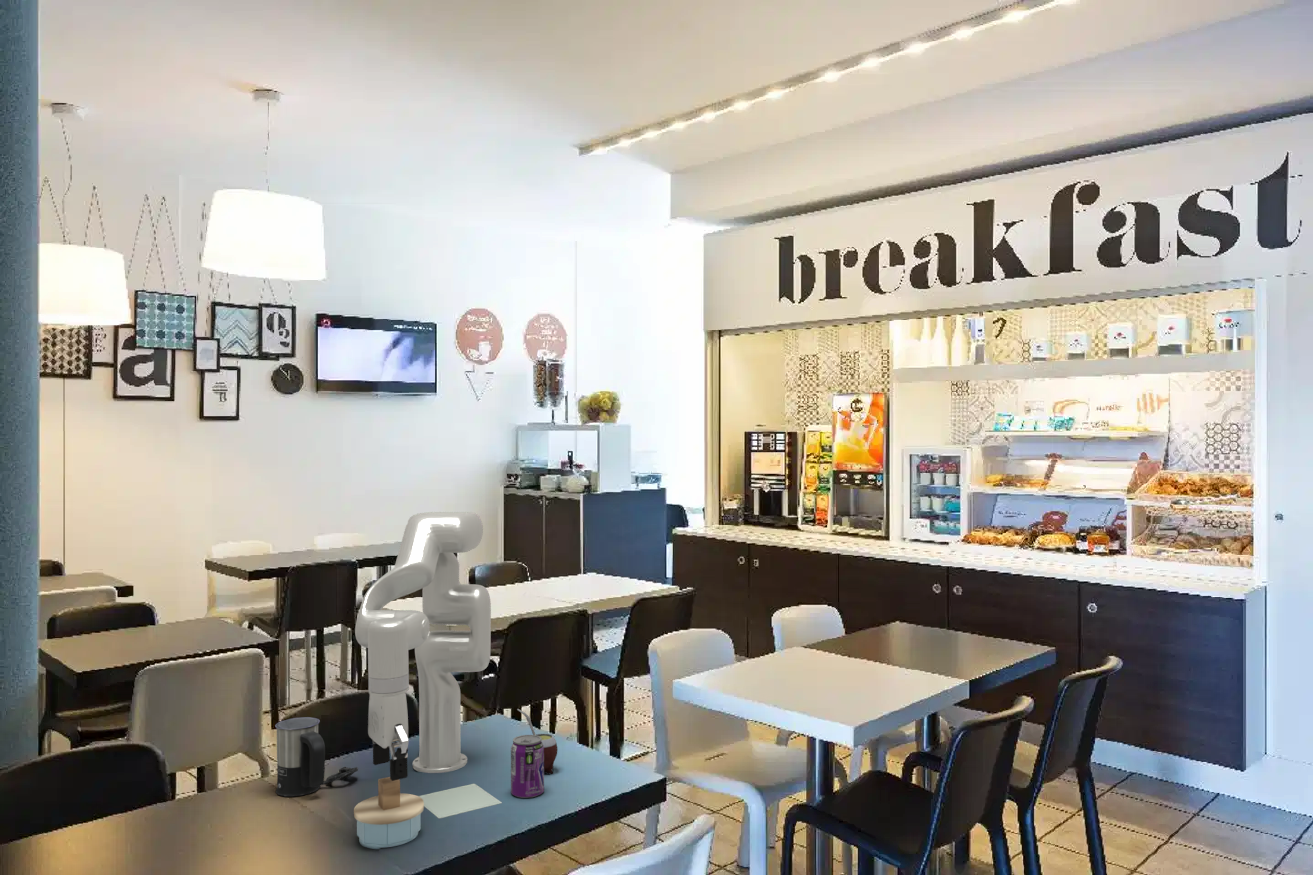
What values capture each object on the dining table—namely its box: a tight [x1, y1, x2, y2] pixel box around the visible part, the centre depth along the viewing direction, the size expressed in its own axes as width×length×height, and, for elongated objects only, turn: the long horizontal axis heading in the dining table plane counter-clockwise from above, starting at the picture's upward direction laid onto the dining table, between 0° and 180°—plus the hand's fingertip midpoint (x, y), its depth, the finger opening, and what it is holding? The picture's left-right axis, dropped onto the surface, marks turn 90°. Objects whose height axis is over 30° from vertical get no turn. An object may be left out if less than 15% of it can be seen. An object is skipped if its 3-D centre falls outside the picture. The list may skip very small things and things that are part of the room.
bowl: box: [356, 812, 422, 850], centre depth 182 cm, size 11×11×5 cm
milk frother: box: [274, 716, 359, 798], centre depth 210 cm, size 14×16×15 cm
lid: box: [353, 776, 425, 825], centre depth 182 cm, size 13×13×6 cm
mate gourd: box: [516, 708, 558, 775], centre depth 218 cm, size 8×8×15 cm
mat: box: [417, 783, 503, 820], centre depth 200 cm, size 14×14×1 cm
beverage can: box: [510, 734, 545, 799], centre depth 204 cm, size 7×7×12 cm
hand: (389, 770), depth 183 cm, fingers open, 9 cm apart
